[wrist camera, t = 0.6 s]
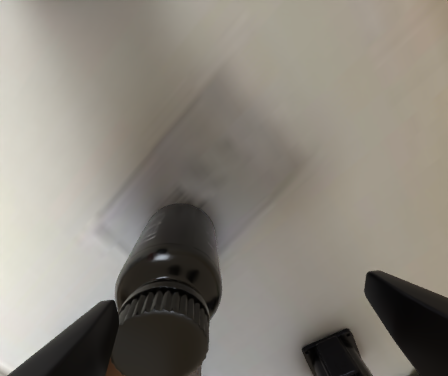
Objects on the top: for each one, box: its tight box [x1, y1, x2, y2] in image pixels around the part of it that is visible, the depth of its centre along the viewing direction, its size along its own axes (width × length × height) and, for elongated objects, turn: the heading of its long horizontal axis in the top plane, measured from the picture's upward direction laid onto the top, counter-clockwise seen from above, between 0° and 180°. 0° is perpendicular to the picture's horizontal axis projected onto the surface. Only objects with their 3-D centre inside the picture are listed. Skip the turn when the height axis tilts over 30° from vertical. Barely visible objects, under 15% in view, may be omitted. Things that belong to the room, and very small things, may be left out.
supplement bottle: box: [110, 204, 222, 376], centre depth 16 cm, size 7×7×12 cm
